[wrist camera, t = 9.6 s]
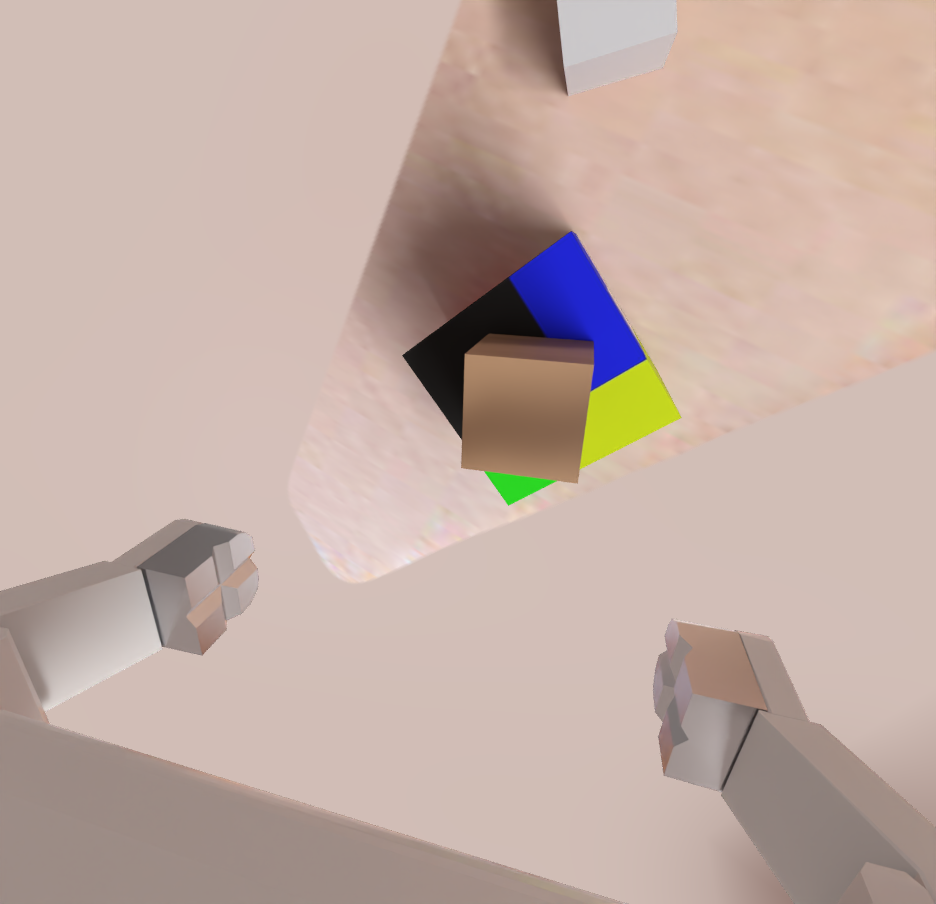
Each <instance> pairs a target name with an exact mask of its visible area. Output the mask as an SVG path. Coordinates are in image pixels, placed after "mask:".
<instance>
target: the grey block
mask: <svg viewBox="0 0 936 904" xmlns="http://www.w3.org/2000/svg"><path fill="white" fill-rule="evenodd" d="M557 7H558V16H559V26H560V35H561V45H562V54H563V64H564V72H565V78H566V84H567V91H568V96H571V95H574V94H578V93H581V92H584V91H588V90H591V89H594V88H598V87H601V86H604V85H608V84H611V83H614V82H618V81H621V80H625V79H628V78H631V77H635V76H638V75H641V74H645V73H648V72H651V71H655V70H658V69H661V68H663V66H664V64H665V61H666V59H667V56H668V54H669V52H670V49H671V47H672V44H673V42H674V39H675V37H676V34H677V8H676V0H557Z"/></svg>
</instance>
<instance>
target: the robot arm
mask: <svg viewBox="0 0 936 904" xmlns="http://www.w3.org/2000/svg"><path fill="white" fill-rule="evenodd" d="M254 551H255V548H254V543H253V538H252V536H250V535H249V534H247V533H246V532H242V531H237V530H233V529H228V528H224V527H220V526H215V525H211V524H206V523H201V522H196V521H192V520H187V519H180V520H175V521H173V522H172V523H170V524H168V525H167V526H166V527H164V528H162V529H161V530H159V531H158V532H156V533H155V534H153V535H152V536H150V537H149V538H147V539H146V540H144V541H143V542H141V543H140V544H138V545H137V546H135V547H134V548H132V549H130V550H129V551H128V552H126V553H124V554H123V555H121V556H120V557H118V558H117V559H115V560H114V561H113V562H107V561H102V562H99V563H96V564H92V565H89V566H85V567H82V568H78V569H75V570H72V571H68V572H64V573H61V574H57V575H54V576H51V577H47V578H44V579H40V580H37V581H34V582H30V583H27V584H23V585H20V586H16V587H13V588H9V589H6V590H3V591H0V904H627V903H623V902H620V901H617V900H614V899H611V898H607V897H604V896H601V895H598V894H594V893H591V892H588V891H585V890H581V889H578V888H575V887H572V886H568V885H566V884H562V883H559V882H556V881H553V880H549V879H546V878H543V877H540V876H536V875H533V874H530V873H527V872H523V871H520V870H517V869H514V868H511V867H507V866H504V865H501V864H498V863H495V862H491V861H488V860H485V859H482V858H479V857H475V856H472V855H469V854H466V853H462V852H459V851H456V850H453V849H449V848H446V847H443V846H440V845H437V844H434V843H430V842H427V841H424V840H420V839H417V838H414V837H411V836H408V835H404V834H401V833H398V832H395V831H392V830H388V829H385V828H382V827H379V826H376V825H372V824H369V823H366V822H363V821H359V820H356V819H353V818H350V817H346V816H343V815H340V814H337V813H334V812H330V811H327V810H324V809H321V808H317V807H314V806H311V805H308V804H305V803H301V802H298V801H295V800H292V799H289V798H285V797H282V796H279V795H276V794H273V793H269V792H266V791H263V790H260V789H256V788H253V787H250V786H247V785H244V784H240V783H237V782H234V781H230V780H227V779H224V778H221V777H217V776H215V775H212V774H208V773H205V772H202V771H199V770H195V769H192V768H189V767H185V766H183V765H179V764H176V763H173V762H170V761H167V760H163V759H160V758H157V757H154V756H150V755H147V754H144V753H141V752H138V751H134V750H131V749H128V748H125V747H121V746H118V745H115V744H112V743H109V742H105V741H102V740H99V739H96V738H93V737H90V736H86V735H83V734H80V733H76V732H73V731H70V730H67V729H64V728H61V727H57V726H54V725H51V724H50V723H49V721H48V719H47V716H46V714H45V712H46V711H48V710H49V709H51V708H53V707H55V706H57V705H59V704H61V703H62V702H64V701H66V700H68V699H70V698H72V697H74V696H76V695H77V694H79V693H81V692H83V691H85V690H86V689H89V688H90V687H92V686H94V685H96V684H98V683H100V682H102V681H103V680H105V679H107V678H109V677H111V676H113V675H115V674H116V673H118V672H120V671H122V670H124V669H126V668H128V667H130V666H132V665H133V664H135V663H137V662H139V661H141V660H143V659H144V658H146V657H148V656H150V655H152V654H154V653H156V652H158V651H159V650H161V649H162V647H167V648H171V649H176V650H180V651H184V652H189V653H194V654H198V655H203V654H204V653H205V652H206V651H207V650H208V649H209V648H210V647H211V646H212V644H214V643H215V642H216V640H217V639H218V638H219V637H220V636H221V635H222V634H223V633H224V632H225V631H226V629H227V620H229V619H231V618H233V617H236V616H238V615H240V614H242V613H243V612H244V611H245V610H246V609H247V607H248V606H249V605H250V604H251V602H252V600H253V598H254V596H255V594H256V592H257V589H258V581H259V576H258V568H257V567H256V566H255V564H254V563H253V562H252V560H251V559H250V557H251V555H252V554H253V553H254ZM665 641H666V647H667V651H665V652H663V653H662V654H660V655H659V657H658V661H657V664H656V668H655V675H654V684H653V696H654V697H653V698H654V707H655V713H656V714H657V715H658V716H659V718H660V719H661V720H662V722H663V723H662V726H661V729H660V732H659V736H658V738H659V745H660V752H661V760H662V767H663V773H664V776H667V777H670V778H674V779H677V780H681V781H684V782H688V783H691V784H695V785H698V786H701V787H705V788H709V789H712V790H716V791H719V792H722V794H721V796H722V797H723V799H724V800H725V802H726V803H727V805H728V806H729V807H730V809H731V811H732V812H733V814H734V815H735V817H736V818H737V819H738V821H739V823H740V824H741V826H742V827H743V828H744V830H745V832H746V833H747V834H748V836H749V837H750V839H751V840H752V842H753V843H754V845H755V846H756V848H757V849H758V851H759V852H760V854H761V855H762V857H763V858H764V860H765V861H766V863H767V864H768V866H769V867H770V869H771V870H772V872H773V873H774V875H775V876H776V877H777V879H778V880H779V882H780V884H781V885H782V887H783V888H784V890H785V891H786V893H787V894H788V895H789V897H790V898H791V900H792V901H793V903H794V904H936V827H935V826H934V825H933V824H932V823H930V821H928V820H927V819H926V818H925V817H924V816H923V815H922V814H921V813H919V812H918V811H917V810H916V809H915V808H914V807H913V806H912V805H910V804H909V803H908V802H907V801H906V800H905V799H904V798H903V797H902V796H900V795H899V794H898V793H897V792H896V791H895V790H894V789H893V788H892V787H890V786H889V785H888V784H887V783H886V782H885V781H884V780H883V779H882V778H880V777H879V776H878V775H877V774H876V773H875V772H874V771H873V770H871V769H870V768H869V767H868V766H867V765H866V764H865V763H864V762H862V761H861V760H860V759H859V758H858V757H857V756H856V755H855V754H854V753H852V752H851V751H850V750H849V749H848V748H847V747H846V746H845V745H843V744H842V743H841V742H840V741H839V740H838V739H837V738H836V737H835V736H833V735H832V734H831V733H830V732H829V731H828V730H827V729H826V728H824V727H823V726H822V725H821V724H817V723H813V722H810V720H809V718H808V716H807V714H806V712H805V709H804V707H803V705H802V703H801V701H800V699H799V697H798V694H797V692H796V690H795V688H794V686H793V683H792V681H791V679H790V677H789V675H788V673H787V670H786V668H785V666H784V664H783V662H782V660H781V658H780V655H779V653H778V651H777V649H776V647H775V645H774V642H773V641H772V640H771V639H770V638H769V637H768V636H764V635H759V634H753V633H748V632H742V631H736V630H735V631H732V630H727V629H722V628H717V627H712V626H706V625H702V624H696V623H691V622H686V621H681V620H676V619H672V620H671V621H670V623H669V624H668V627H667V630H666V633H665Z"/></svg>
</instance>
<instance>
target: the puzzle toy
mask: <svg viewBox="0 0 936 904" xmlns="http://www.w3.org/2000/svg"><path fill="white" fill-rule="evenodd" d="M488 334H502V335H516V336H529V337H542V338H556V339H569V340H583V341H594V369H593V376H592V384H591V391H590V398H589V405H588V412H587V420H586V427H585V434H584V441H583V448H582V456H581V463H580V469H581V468H583V467H585V466H587V465H589V464H591V463H593V462H595V461H597V460H599V459H601V458H603V457H605V456H607V455H609V454H611V453H613V452H615V451H617V450H619V449H621V448H623V447H625V446H627V445H629V444H631V443H633V442H635V441H637V440H639V439H641V438H643V437H644V436H646V435H648V434H650V433H652V432H654V431H656V430H658V429H660V428H662V427H664V426H666V425H668V424H670V423H672V422H674V421H676V420H678V419H680V418H681V416H680V414H679V412H678V410H677V408H676V406H675V404H674V402H673V400H672V398H671V396H670V394H669V392H668V391H667V389H666V387H665V385H664V383H663V381H662V379H661V377H660V375H659V373H658V371H657V369H656V368H655V366H654V364H653V363H652V361H651V359H650V357H649V356H648V354H647V352H646V351H645V349H644V347H643V346H642V344H641V342H640V340H639V339H638V337H637V335H636V334H635V332H634V330H633V329H632V327H631V325H630V323H629V322H628V320H627V318H626V317H625V315H624V313H623V312H622V310H621V308H620V306H619V305H618V303H617V301H616V300H615V298H614V296H613V295H612V293H611V291H610V290H609V288H608V286H607V284H606V283H605V281H604V279H603V278H602V276H601V274H600V273H599V271H598V269H597V267H596V266H595V264H594V262H593V261H592V259H591V257H590V256H589V254H588V252H587V250H586V249H585V247H584V245H583V244H582V242H581V240H580V239H579V237H578V235H577V234H575V233H574V232H572V231H571V232H569V233H568V234H566V235H565V236H564V237H562V238H561V239H560V240H558V241H557V242H556V243H554V244H553V245H552V246H550V247H549V248H547V249H546V250H545V251H543V252H542V253H541V254H539V255H538V256H537V257H535V258H534V259H532V260H531V261H530V262H528V263H527V264H526V265H524V266H523V267H522V268H520V269H519V270H518V271H516V272H515V273H513V274H512V275H511V276H509V277H508V278H507V279H505V280H504V281H503V282H501V283H500V284H498V285H497V286H496V287H494V288H493V289H492V290H490V291H489V292H488V293H486V294H485V295H484V296H482V297H481V298H479V299H478V300H477V301H475V302H474V303H473V304H471V305H470V306H469V307H467V308H466V309H465V310H463V311H462V312H460V313H459V314H458V315H456V316H455V317H454V318H452V319H451V320H450V321H448V322H447V323H445V324H444V325H443V326H441V327H440V328H439V329H437V330H436V331H435V332H433V333H432V334H431V335H429V336H428V337H426V338H425V339H424V340H422V341H421V342H420V343H418V344H417V345H416V346H414V347H413V348H411V349H410V350H409V351H407V352H406V353H405V354H403V355H402V356H403V357H404V359H405V360H406V361H407V363H408V364H409V366H410V367H411V369H412V370H413V371H414V373H415V374H416V376H417V377H418V378H419V380H420V381H421V383H422V384H423V386H424V387H425V388H426V390H427V391H428V393H429V394H430V395H431V397H432V398H433V400H434V401H435V402H436V404H437V405H438V407H439V408H440V410H441V411H442V412H443V414H444V415H445V417H446V418H447V419H448V421H449V422H450V424H451V425H452V427H453V428H454V429H455V431H456V432H457V434H458V435H459V436H460V438H461V439H462V429H463V397H464V365H465V353H467V352H468V351H469V350H470V349H471V348H472V347H474V346H475V345H476V344H477V343H478V342H480V341H481V340H482V339H483V338H484V337H485V336H487V335H488ZM484 472H485V473H486V475H487V476H488V477H489V479H490V480H491V482H492V483H493V484H494V486H495V487H496V489H497V490H498V492H499V493H500V494H501V496H502V497H503V499H504V500H505V501H506V503H507V504H508V506H509V505H511V504H512V503H514V502H516V501H518V500H520V499H522V498H524V497H526V496H528V495H530V494H532V493H534V492H536V491H538V490H540V489H542V488H544V487H546V486H548V485H550V484H552V483H554V482H556V480H548V479H540V478H533V477H525V476H518V475H510V474H503V473H495V472H488V471H484Z"/></svg>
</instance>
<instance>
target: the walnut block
mask: <svg viewBox="0 0 936 904" xmlns="http://www.w3.org/2000/svg"><path fill="white" fill-rule="evenodd" d="M593 369H594V341H583V340H569V339H556V338H542V337H529V336H516V335H502V334H488V335H487V336H485V337H484V338H483V339H482V340H481V341H480V342H478V343H477V344H476V345H475V346H474V347H472V348H471V349H470V350H469V351H468V352H467V353H465V365H464V397H463V429H462V461H461V468H465V469H472V470H480V471H488V472H495V473H503V474H510V475H518V476H525V477H533V478H540V479H548V480H556V481H563V482H571V483H578V477H579V470H580V463H581V456H582V448H583V441H584V434H585V427H586V420H587V412H588V405H589V398H590V391H591V384H592V376H593Z"/></svg>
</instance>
